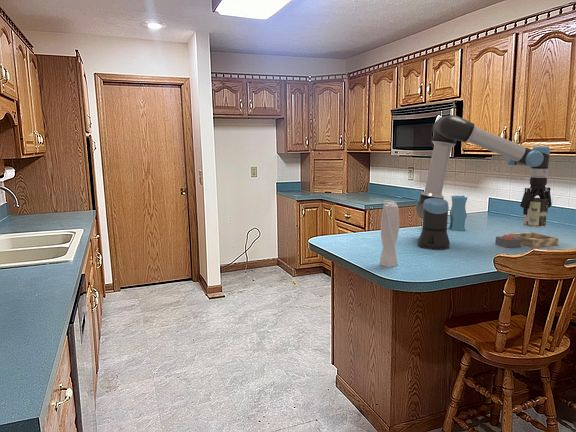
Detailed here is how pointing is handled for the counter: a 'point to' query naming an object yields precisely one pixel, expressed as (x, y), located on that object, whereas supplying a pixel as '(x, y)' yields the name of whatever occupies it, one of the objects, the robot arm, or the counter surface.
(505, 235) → the button
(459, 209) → the vase
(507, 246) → the button box
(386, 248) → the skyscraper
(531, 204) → the coffee can
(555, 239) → the woven basket tray
